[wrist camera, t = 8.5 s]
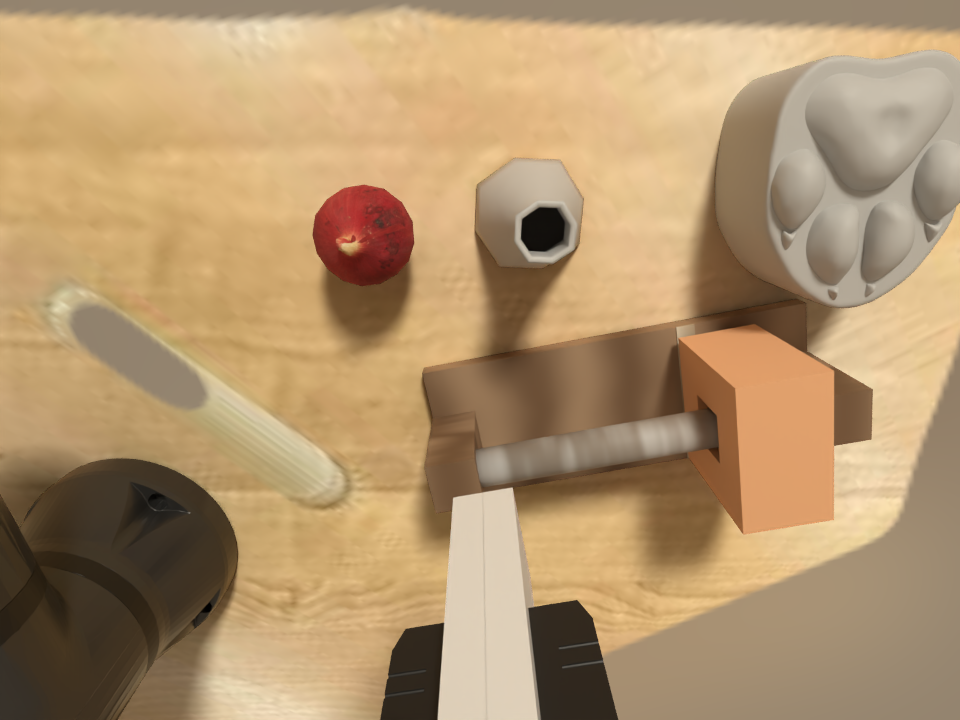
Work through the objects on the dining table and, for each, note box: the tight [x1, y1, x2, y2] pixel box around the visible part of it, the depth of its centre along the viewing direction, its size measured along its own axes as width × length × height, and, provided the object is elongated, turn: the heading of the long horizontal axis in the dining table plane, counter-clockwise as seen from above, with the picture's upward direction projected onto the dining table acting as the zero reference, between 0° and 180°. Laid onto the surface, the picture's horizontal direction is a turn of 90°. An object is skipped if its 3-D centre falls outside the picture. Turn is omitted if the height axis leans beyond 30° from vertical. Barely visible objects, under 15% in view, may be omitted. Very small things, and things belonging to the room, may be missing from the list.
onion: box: [313, 185, 414, 286], centre depth 34 cm, size 6×6×8 cm
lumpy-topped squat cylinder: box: [715, 50, 960, 308], centre depth 33 cm, size 10×13×9 cm
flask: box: [475, 158, 584, 269], centre depth 33 cm, size 7×7×10 cm
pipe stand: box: [422, 299, 873, 513], centre depth 38 cm, size 26×10×8 cm, turn 101°
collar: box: [678, 324, 834, 534], centre depth 36 cm, size 5×9×9 cm, turn 11°
